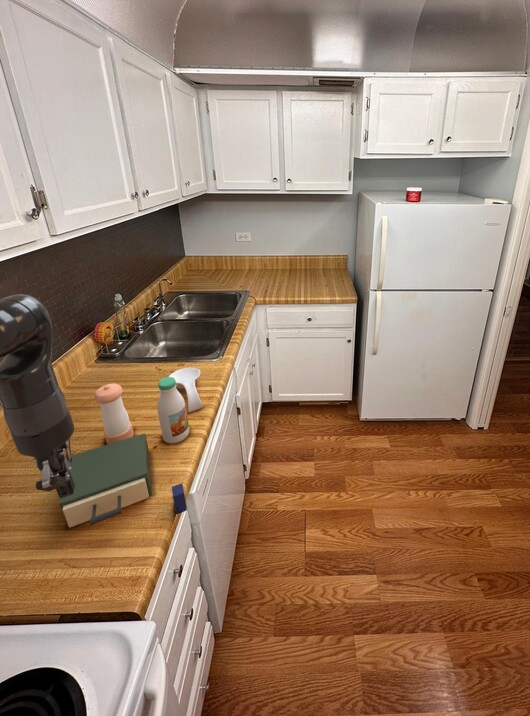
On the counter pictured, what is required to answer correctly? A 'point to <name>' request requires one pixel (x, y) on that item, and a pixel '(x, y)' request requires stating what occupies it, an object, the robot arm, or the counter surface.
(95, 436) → the counter surface
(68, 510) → the drawer
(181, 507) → the blue block with post
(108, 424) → the salt shaker
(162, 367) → the counter surface
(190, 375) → the white curved piece
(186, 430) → the milk bottle
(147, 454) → the cabinet
